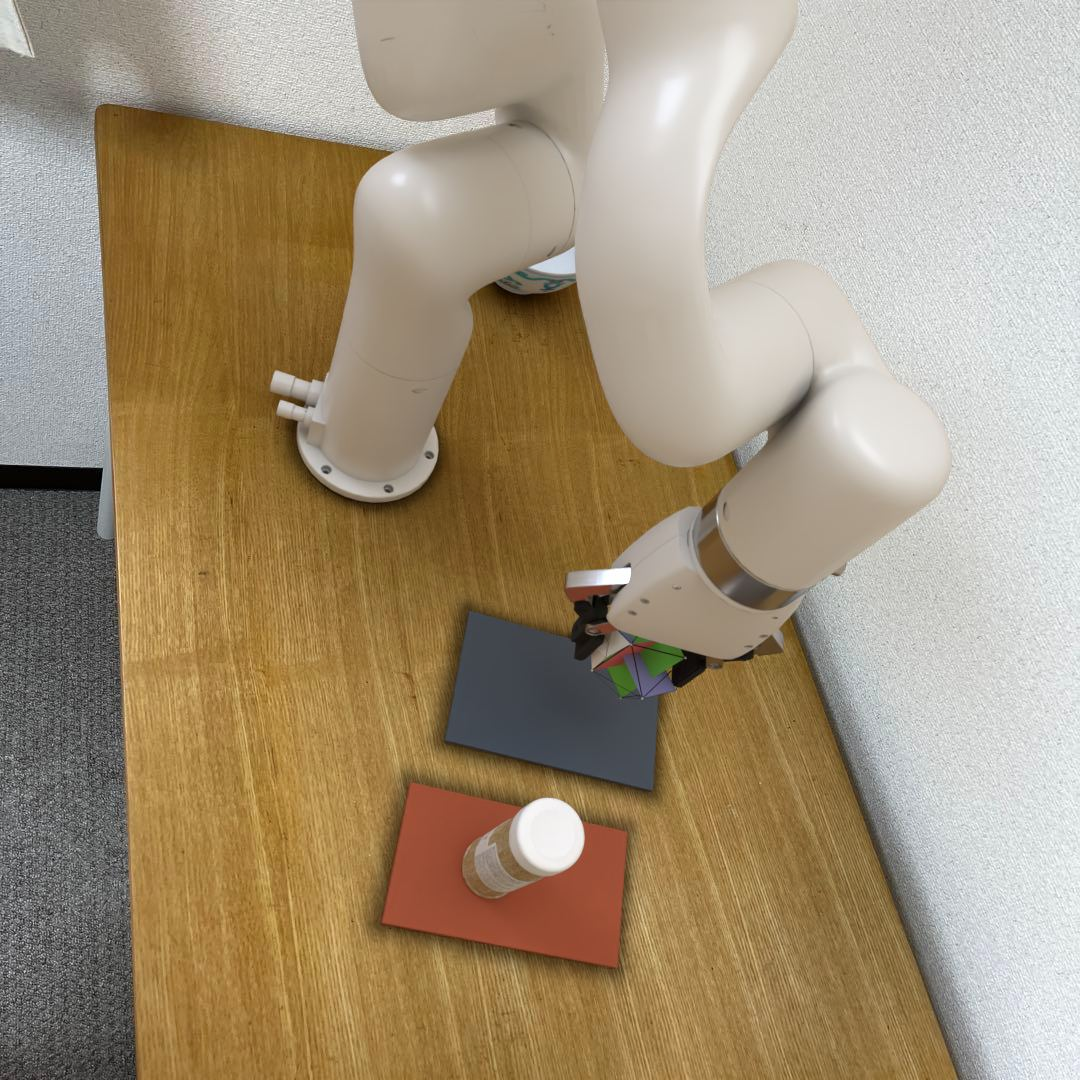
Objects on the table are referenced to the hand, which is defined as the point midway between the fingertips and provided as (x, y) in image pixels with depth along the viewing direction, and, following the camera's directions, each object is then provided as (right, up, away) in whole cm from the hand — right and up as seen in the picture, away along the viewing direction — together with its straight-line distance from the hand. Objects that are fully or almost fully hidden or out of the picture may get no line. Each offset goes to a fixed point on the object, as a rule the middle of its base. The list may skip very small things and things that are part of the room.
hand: (629, 654), depth 66 cm
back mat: (-5, -5, +10) cm, 12 cm away
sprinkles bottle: (-10, -16, +1) cm, 19 cm away
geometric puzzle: (0, -1, +2) cm, 2 cm away
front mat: (-9, -17, +1) cm, 19 cm away
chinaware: (-9, +38, +32) cm, 51 cm away
